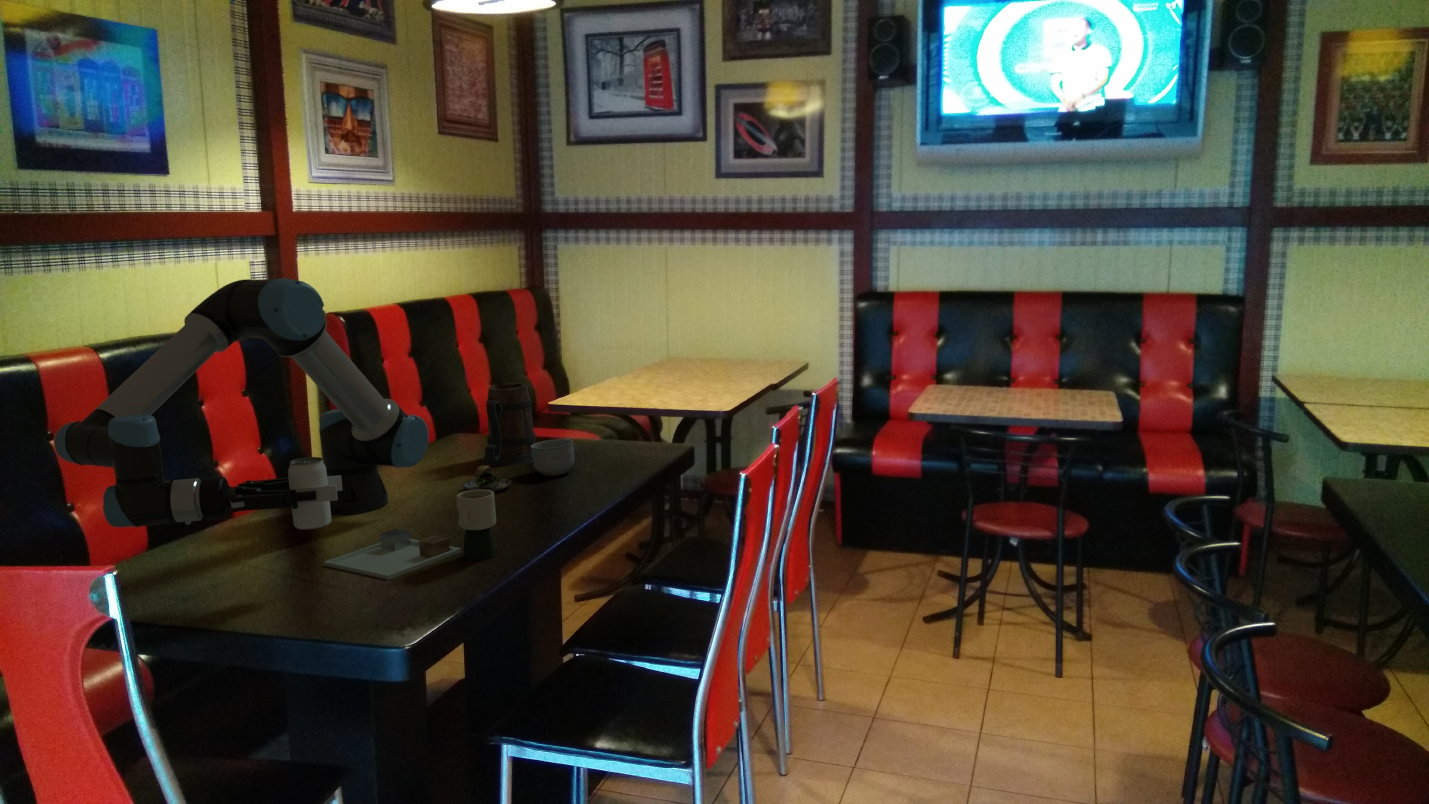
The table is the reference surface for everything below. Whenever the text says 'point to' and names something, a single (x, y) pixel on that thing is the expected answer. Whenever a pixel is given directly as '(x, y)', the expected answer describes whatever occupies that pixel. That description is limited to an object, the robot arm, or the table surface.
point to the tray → (386, 560)
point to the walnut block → (433, 546)
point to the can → (309, 475)
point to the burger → (486, 481)
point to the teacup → (553, 456)
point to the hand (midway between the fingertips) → (338, 487)
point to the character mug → (477, 523)
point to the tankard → (509, 425)
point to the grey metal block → (395, 539)
